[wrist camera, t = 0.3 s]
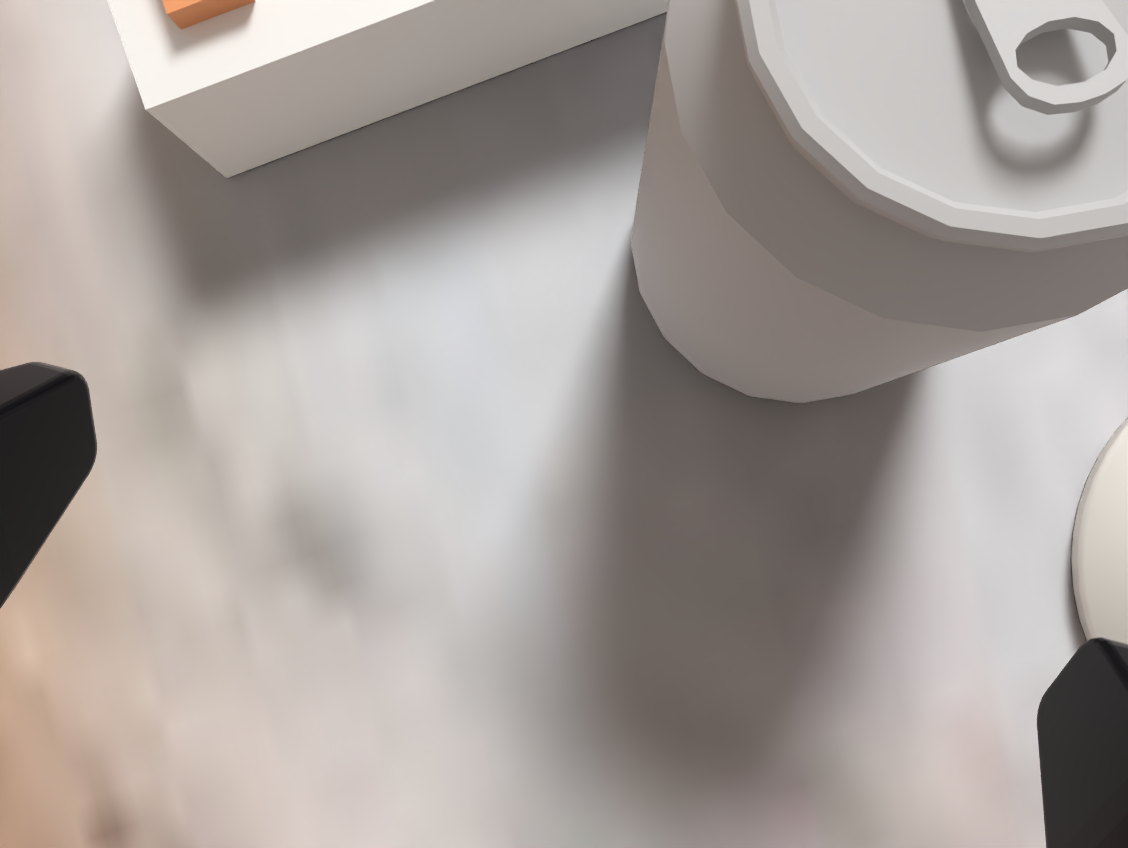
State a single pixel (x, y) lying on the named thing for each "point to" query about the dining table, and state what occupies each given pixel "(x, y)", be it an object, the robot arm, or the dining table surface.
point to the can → (879, 183)
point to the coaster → (1103, 544)
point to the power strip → (332, 61)
